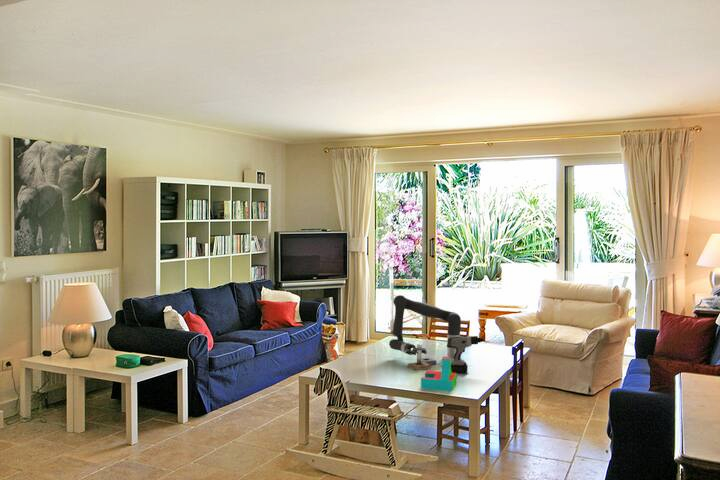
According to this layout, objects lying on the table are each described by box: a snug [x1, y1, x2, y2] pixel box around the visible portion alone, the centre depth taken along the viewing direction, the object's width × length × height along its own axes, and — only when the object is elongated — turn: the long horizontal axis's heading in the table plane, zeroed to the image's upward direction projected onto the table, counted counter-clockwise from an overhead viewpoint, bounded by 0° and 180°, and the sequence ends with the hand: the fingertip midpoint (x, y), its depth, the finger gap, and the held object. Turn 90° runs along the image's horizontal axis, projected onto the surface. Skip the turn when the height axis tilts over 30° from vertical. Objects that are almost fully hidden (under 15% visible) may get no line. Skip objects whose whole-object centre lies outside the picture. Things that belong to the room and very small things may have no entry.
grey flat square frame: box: [422, 357, 437, 365], centre depth 436 cm, size 10×10×2 cm
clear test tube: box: [416, 343, 423, 365], centre depth 422 cm, size 3×3×16 cm
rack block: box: [407, 361, 432, 371], centre depth 422 cm, size 12×10×2 cm
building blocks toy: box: [420, 356, 457, 392], centre depth 380 cm, size 19×25×18 cm
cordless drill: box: [446, 335, 485, 375], centre depth 409 cm, size 8×24×25 cm, turn 78°
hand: (420, 353), depth 420 cm, fingers open, 8 cm apart
